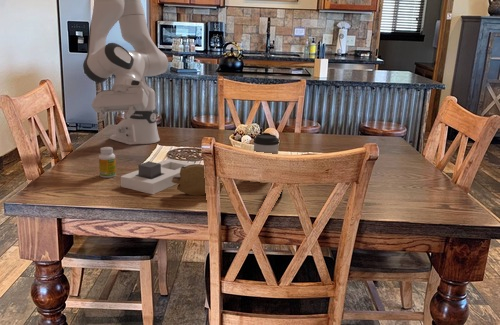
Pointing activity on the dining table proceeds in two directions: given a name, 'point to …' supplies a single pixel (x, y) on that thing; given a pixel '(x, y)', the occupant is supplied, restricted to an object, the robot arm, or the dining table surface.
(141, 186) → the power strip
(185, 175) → the wooden carving
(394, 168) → the dining table surface
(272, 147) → the coffee cup
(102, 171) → the supplement bottle
